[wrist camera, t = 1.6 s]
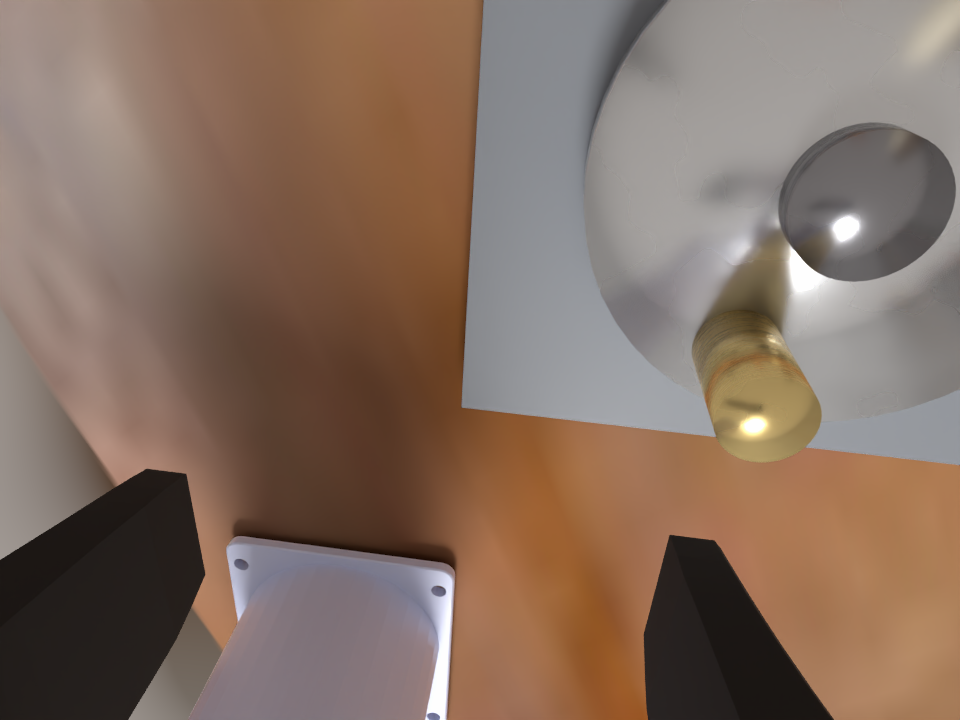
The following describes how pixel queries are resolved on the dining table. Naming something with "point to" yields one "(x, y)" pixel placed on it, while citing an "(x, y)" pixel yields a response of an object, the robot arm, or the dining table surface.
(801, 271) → the flange plate
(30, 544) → the robot arm
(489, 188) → the jig board
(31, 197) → the dining table surface
